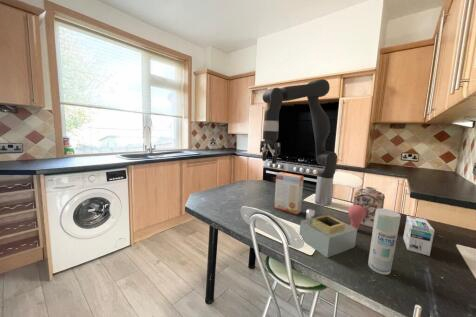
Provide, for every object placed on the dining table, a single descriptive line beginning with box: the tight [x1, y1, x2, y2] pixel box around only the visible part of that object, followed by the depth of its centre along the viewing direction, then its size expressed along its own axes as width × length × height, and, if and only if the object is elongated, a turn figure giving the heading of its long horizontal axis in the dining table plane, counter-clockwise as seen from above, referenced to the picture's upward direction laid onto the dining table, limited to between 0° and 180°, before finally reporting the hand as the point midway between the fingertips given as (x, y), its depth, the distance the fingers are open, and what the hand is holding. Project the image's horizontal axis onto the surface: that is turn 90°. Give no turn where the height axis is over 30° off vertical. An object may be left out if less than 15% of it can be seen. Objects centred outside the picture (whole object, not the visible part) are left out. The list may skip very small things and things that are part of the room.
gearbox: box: [299, 214, 358, 258], centre depth 80 cm, size 16×14×9 cm
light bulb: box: [347, 204, 366, 231], centre depth 91 cm, size 7×7×12 cm
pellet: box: [305, 208, 316, 220], centre depth 100 cm, size 4×4×5 cm
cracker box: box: [273, 171, 305, 216], centre depth 110 cm, size 14×6×21 cm, turn 50°
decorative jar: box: [352, 186, 386, 229], centre depth 99 cm, size 12×12×18 cm
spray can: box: [367, 208, 402, 276], centre depth 65 cm, size 6×6×20 cm
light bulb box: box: [402, 215, 435, 257], centre depth 79 cm, size 11×7×11 cm, turn 148°
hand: (268, 162), depth 100 cm, fingers open, 8 cm apart
